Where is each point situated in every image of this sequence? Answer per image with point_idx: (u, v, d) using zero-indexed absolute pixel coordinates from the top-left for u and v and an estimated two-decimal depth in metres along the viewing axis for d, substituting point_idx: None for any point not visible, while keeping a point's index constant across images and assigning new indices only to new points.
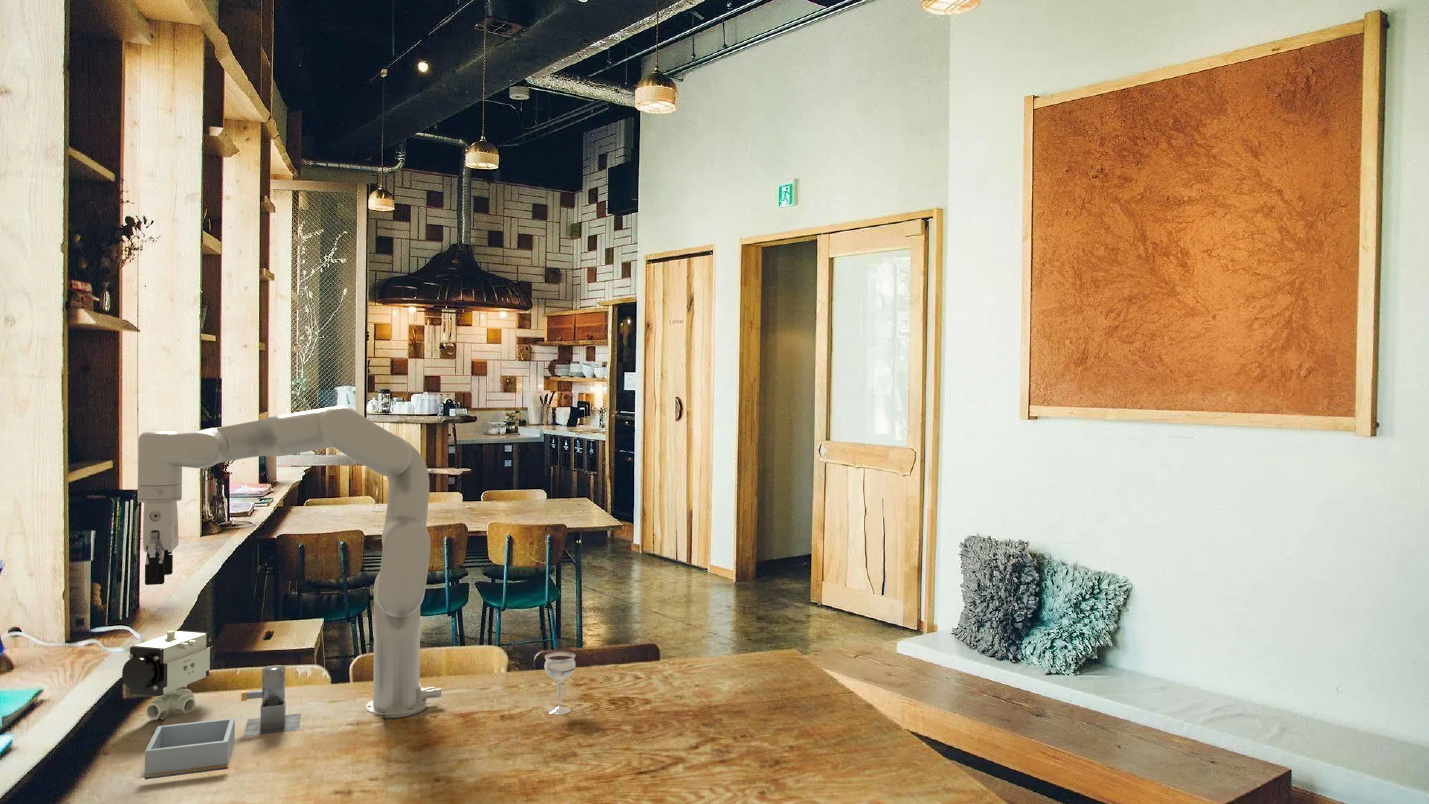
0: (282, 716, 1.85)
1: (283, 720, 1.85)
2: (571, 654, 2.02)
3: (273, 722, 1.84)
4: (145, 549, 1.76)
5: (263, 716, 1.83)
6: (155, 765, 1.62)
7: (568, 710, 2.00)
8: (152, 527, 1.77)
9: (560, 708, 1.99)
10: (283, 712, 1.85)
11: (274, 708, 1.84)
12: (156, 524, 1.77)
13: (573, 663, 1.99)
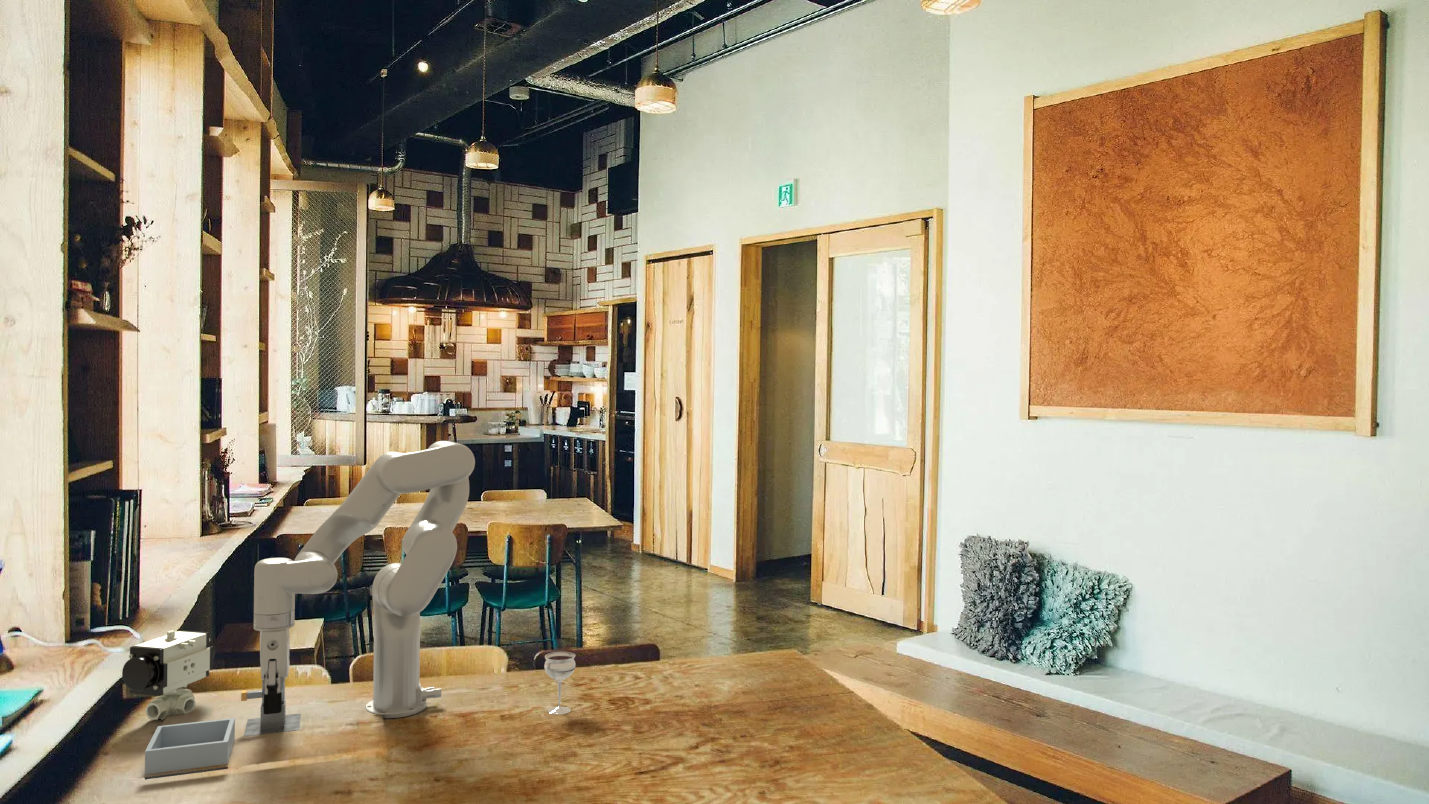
0: (282, 716, 1.85)
1: (283, 720, 1.85)
2: (571, 654, 2.02)
3: (273, 722, 1.84)
4: (263, 677, 1.81)
5: (263, 716, 1.83)
6: (155, 765, 1.62)
7: (568, 710, 2.00)
8: (270, 656, 1.81)
9: (560, 708, 1.99)
10: (283, 712, 1.85)
11: None
12: (273, 653, 1.81)
13: (573, 663, 1.99)
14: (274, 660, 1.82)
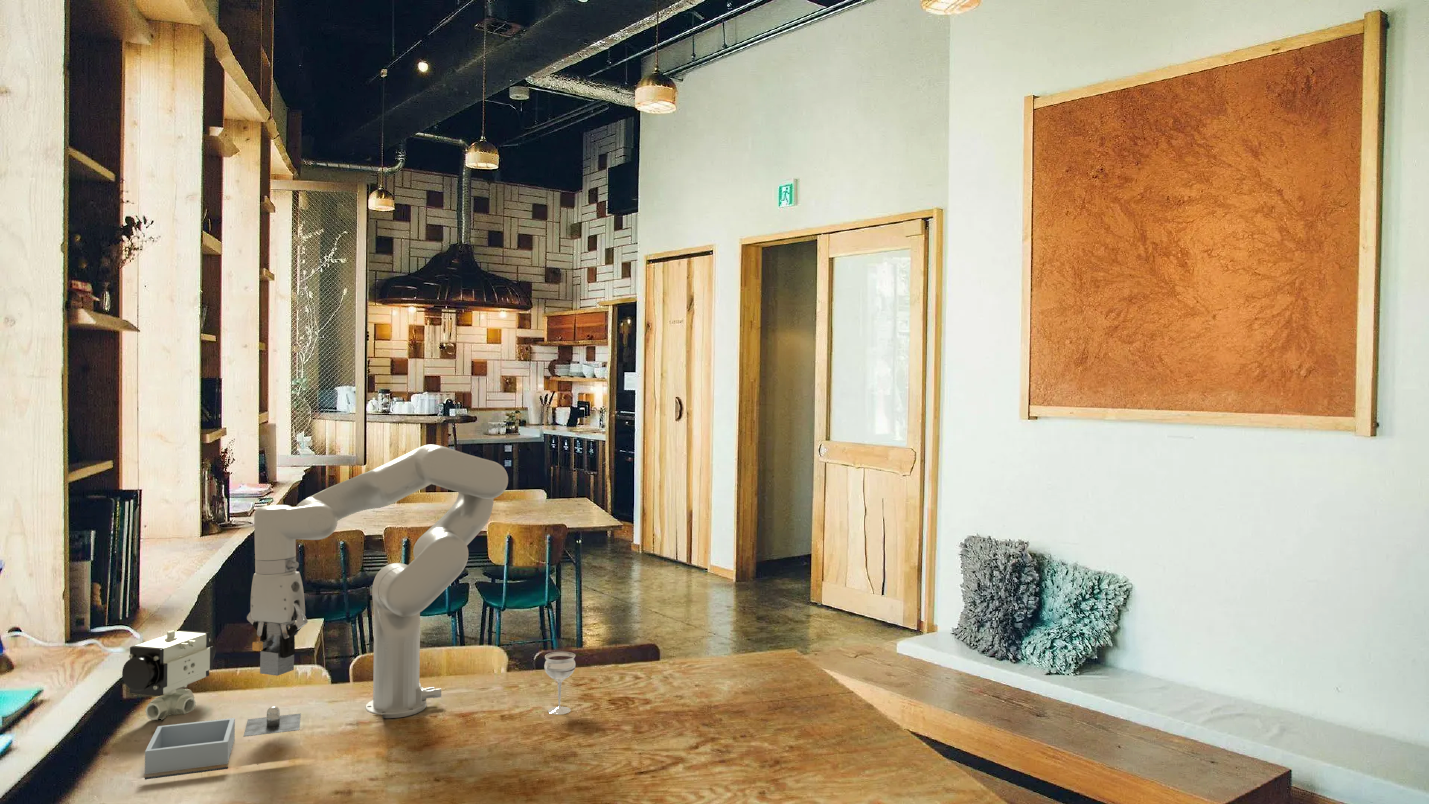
0: (292, 659, 1.87)
1: (293, 663, 1.88)
2: (571, 654, 2.02)
3: (286, 666, 1.86)
4: (290, 620, 1.83)
5: (279, 662, 1.84)
6: (155, 765, 1.62)
7: (568, 710, 2.00)
8: (294, 597, 1.84)
9: (560, 708, 1.99)
10: (292, 656, 1.87)
11: None
12: (297, 594, 1.85)
13: (573, 663, 1.99)
14: (295, 602, 1.85)
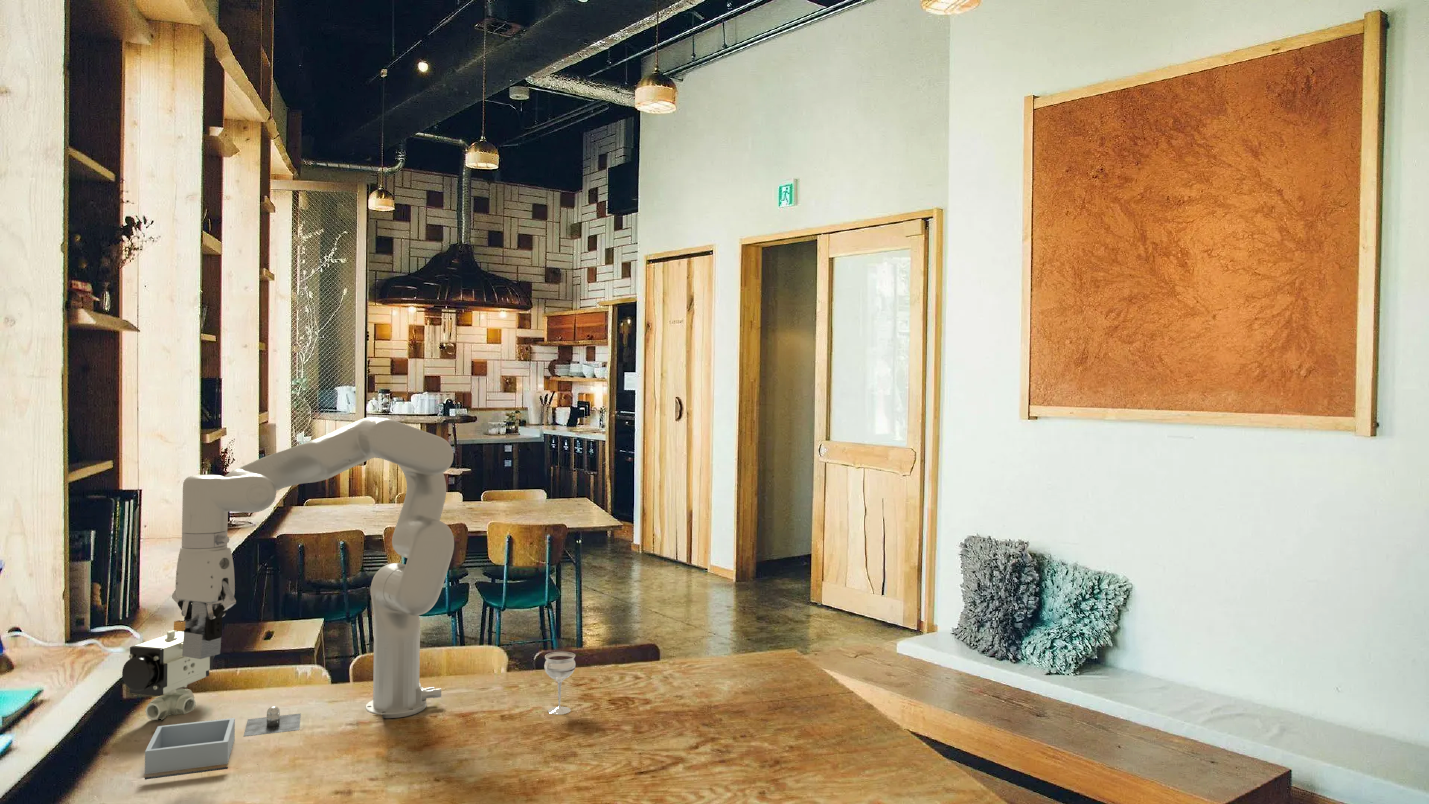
0: (219, 642, 1.73)
1: (219, 647, 1.73)
2: (571, 654, 2.02)
3: (211, 650, 1.71)
4: (216, 599, 1.69)
5: (204, 644, 1.70)
6: (155, 765, 1.62)
7: (568, 710, 2.00)
8: (223, 575, 1.70)
9: (560, 708, 1.99)
10: (219, 638, 1.73)
11: None
12: (226, 571, 1.71)
13: (573, 663, 1.99)
14: (224, 580, 1.71)
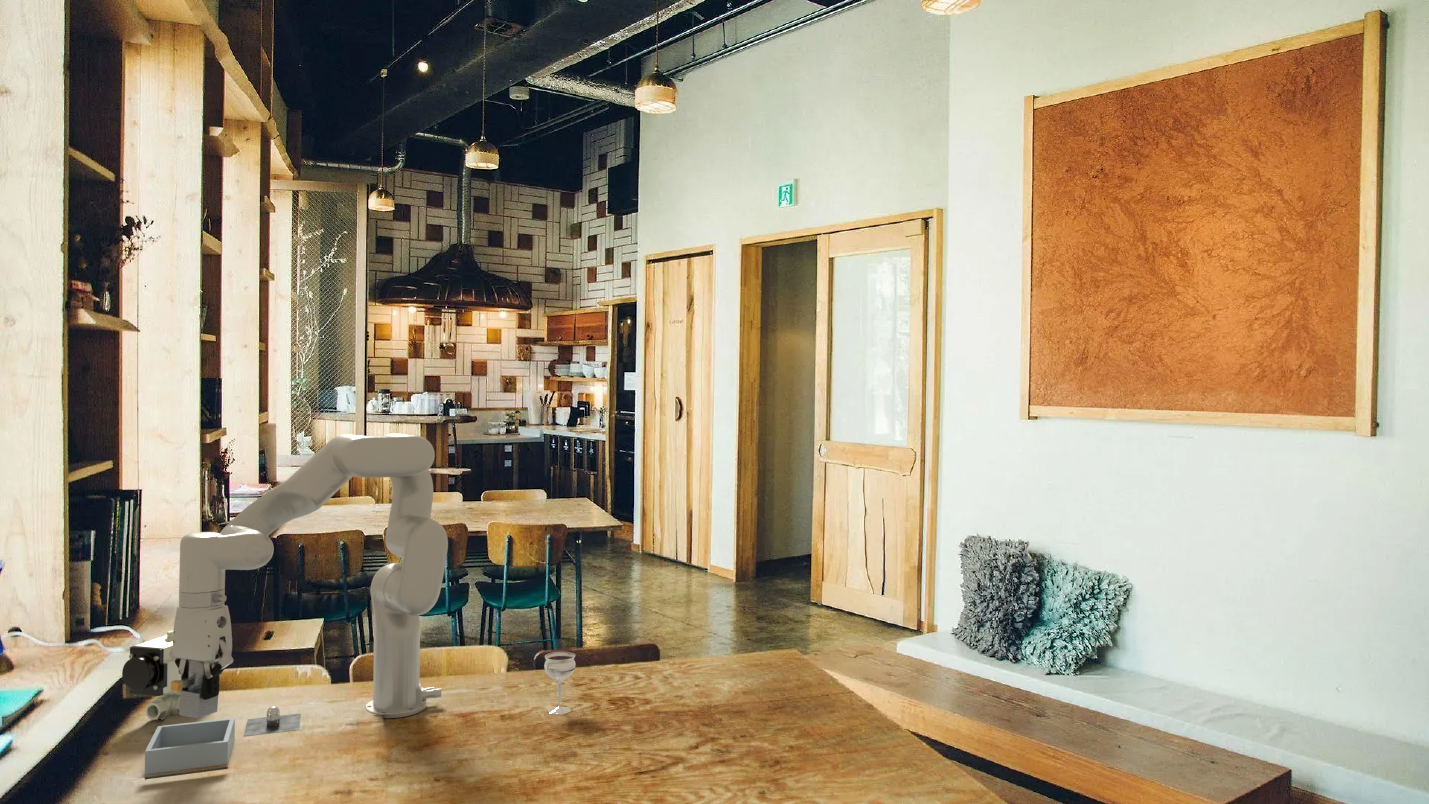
0: (216, 700, 1.73)
1: (216, 705, 1.73)
2: (571, 654, 2.02)
3: (208, 708, 1.71)
4: (213, 658, 1.69)
5: (201, 703, 1.69)
6: (155, 765, 1.62)
7: (568, 710, 2.00)
8: (220, 634, 1.70)
9: (560, 708, 1.99)
10: (216, 696, 1.73)
11: None
12: (223, 630, 1.70)
13: (573, 663, 1.99)
14: (221, 638, 1.71)
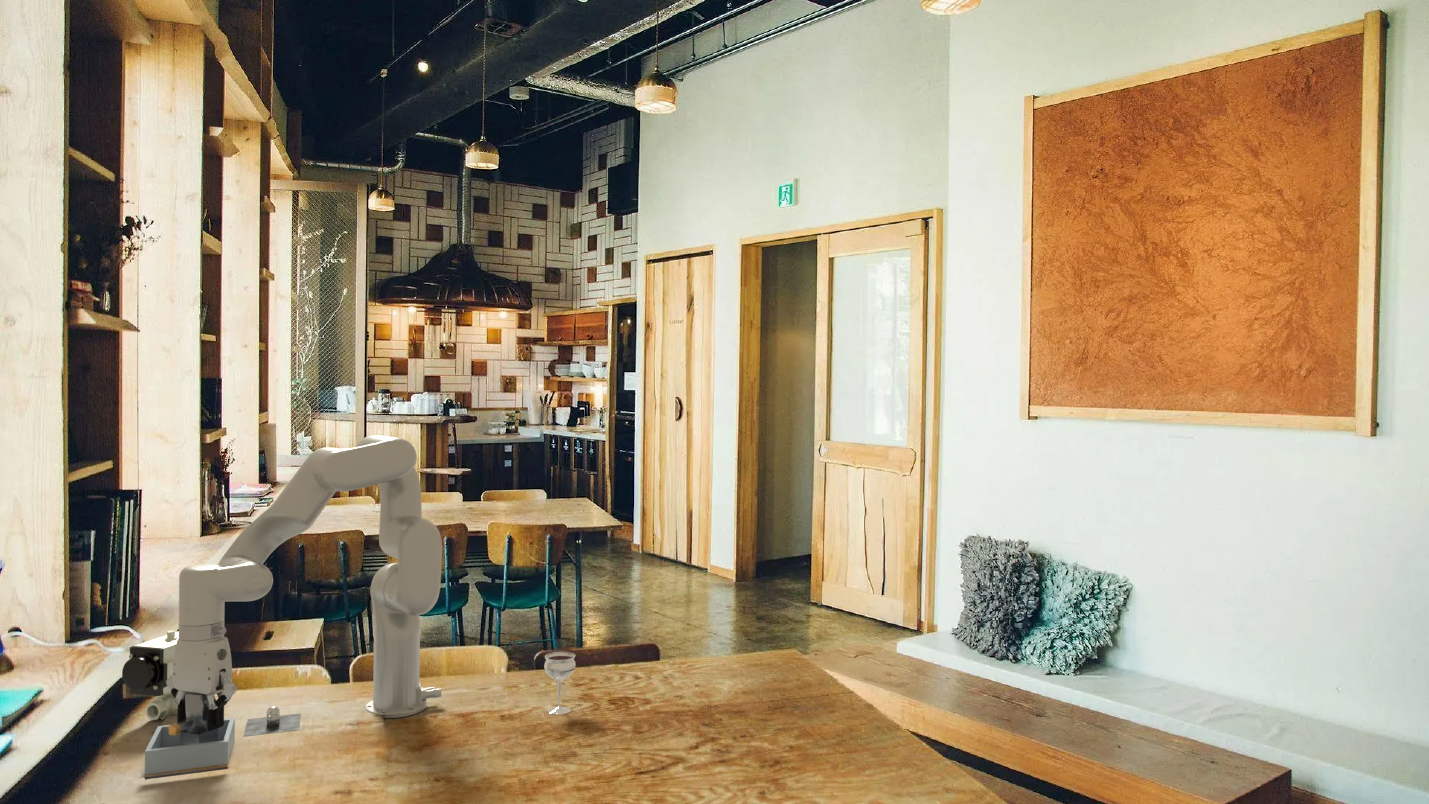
0: (216, 738, 1.73)
1: None
2: (571, 654, 2.02)
3: None
4: (214, 691, 1.69)
5: None
6: (155, 765, 1.62)
7: (568, 710, 2.00)
8: (220, 666, 1.70)
9: (560, 708, 1.99)
10: (216, 734, 1.73)
11: (209, 732, 1.71)
12: (223, 662, 1.70)
13: (573, 663, 1.99)
14: (221, 670, 1.71)
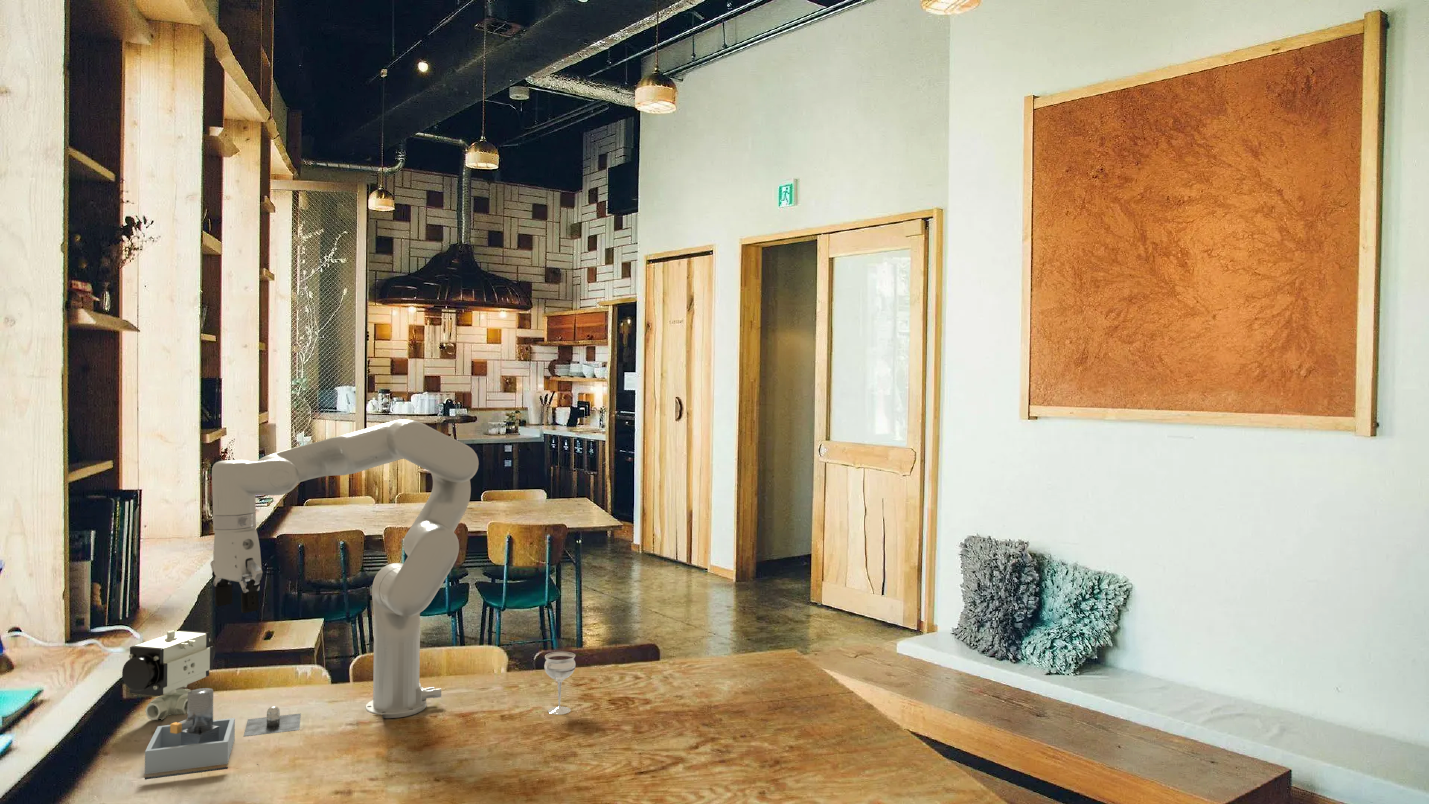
0: (217, 739, 1.73)
1: None
2: (571, 654, 2.02)
3: None
4: (240, 578, 1.77)
5: None
6: (155, 765, 1.62)
7: (568, 710, 2.00)
8: (246, 555, 1.78)
9: (560, 708, 1.99)
10: (217, 735, 1.73)
11: (210, 732, 1.71)
12: (250, 552, 1.78)
13: (573, 663, 1.99)
14: None
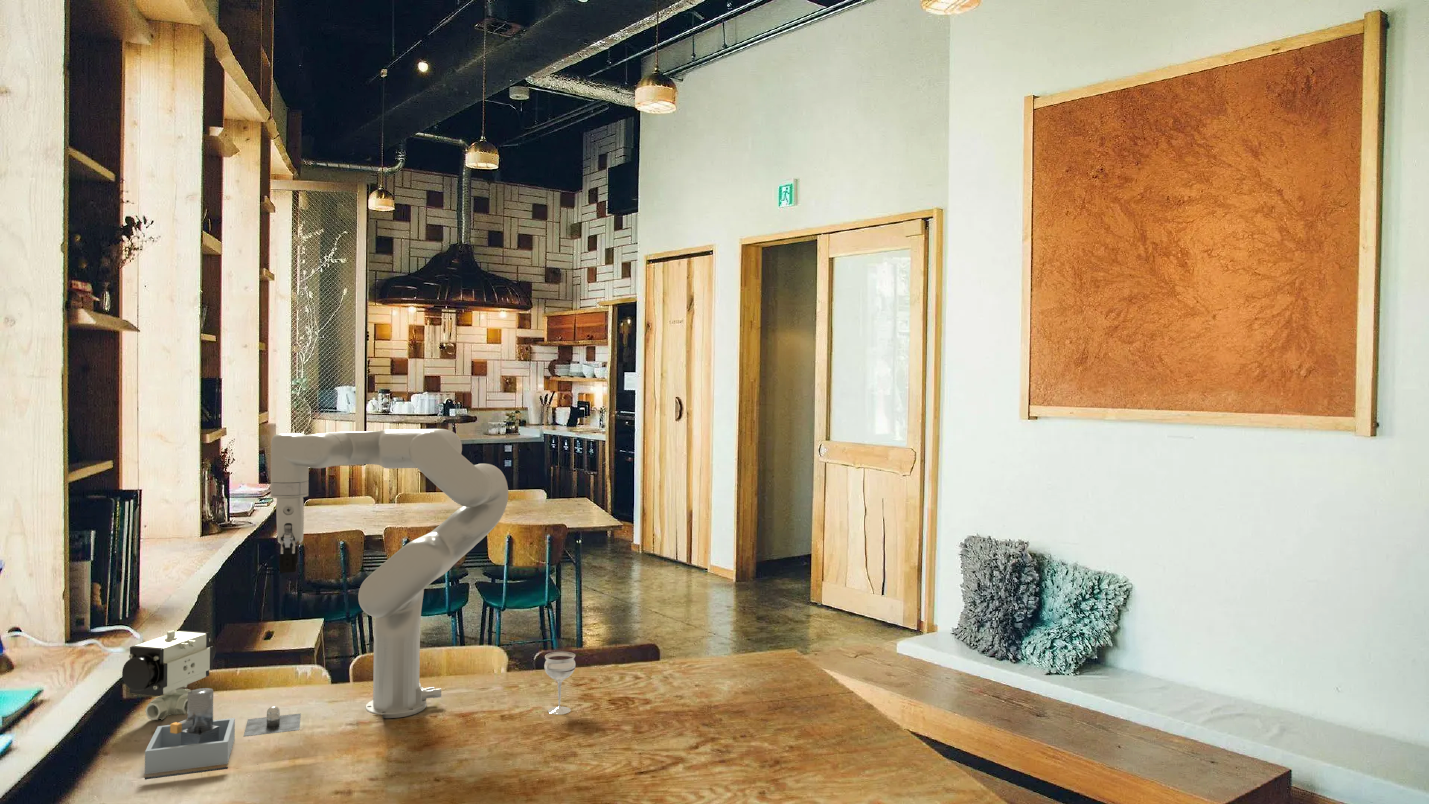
0: (217, 739, 1.73)
1: None
2: (571, 654, 2.02)
3: None
4: (279, 540, 1.94)
5: None
6: (155, 765, 1.62)
7: (568, 710, 2.00)
8: (286, 520, 1.95)
9: (560, 708, 1.99)
10: (217, 735, 1.73)
11: (210, 732, 1.71)
12: (289, 517, 1.95)
13: (573, 663, 1.99)
14: None
